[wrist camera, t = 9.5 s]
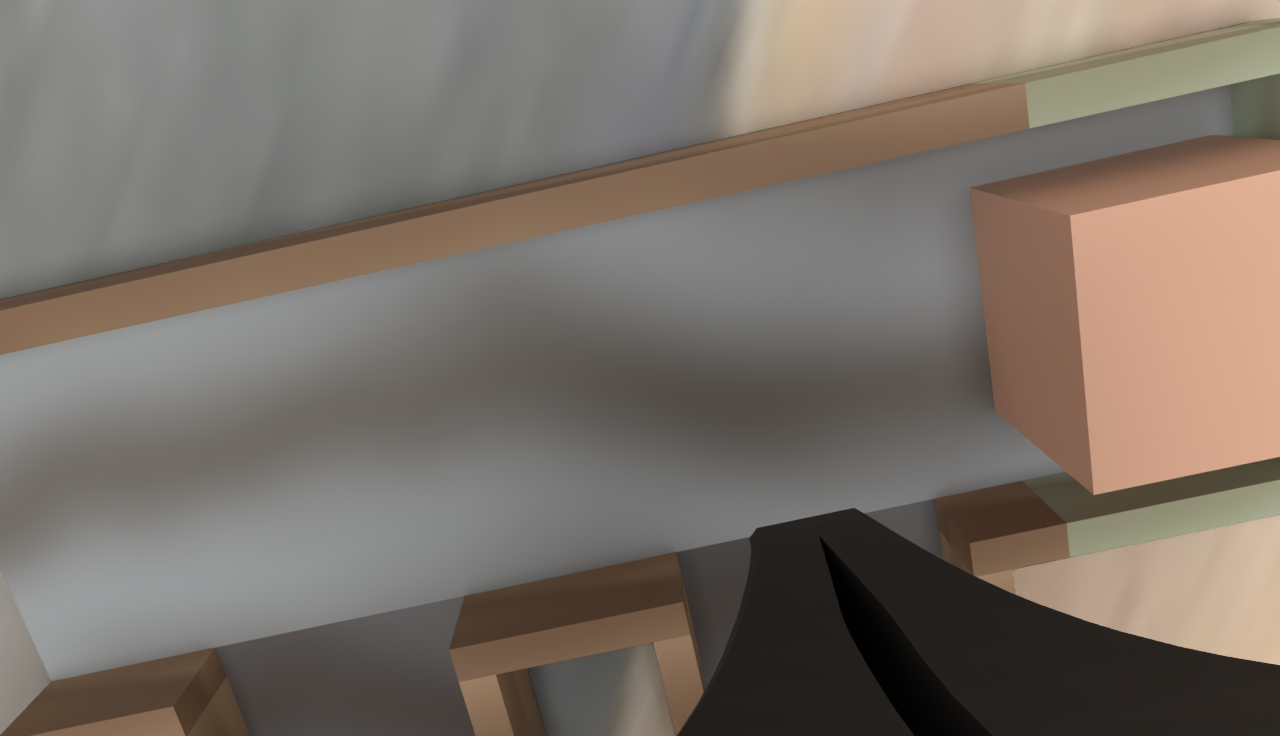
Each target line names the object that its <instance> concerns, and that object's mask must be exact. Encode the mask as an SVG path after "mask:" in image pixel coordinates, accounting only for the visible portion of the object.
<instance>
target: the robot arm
mask: <svg viewBox="0 0 1280 736" xmlns="http://www.w3.org/2000/svg"><path fill="white" fill-rule="evenodd" d="M749 540H750V545H751V559H750V567H749V572H748V578H747V583H746V586H745V590H744V594H743V598H742V602H741V605H740V609H739V612H738V616H737V619H736V621H735V624H734V626H733V629H732V632H731V634H730V637H729V640H728V642H727V645H726V647H725V650H724V653H723V655H722V657H721V659H720V662H719V664H718V666H717V668H716V670H715V672H714V674H713V676H712V678H711V680H710V682H709V684H708V686H707V688H706V689H705V691H704V693H703V695H702V697H701V698H700V700H699V702H698V704H697V705H696V707H695V708H694V710H693V712H692V713H691V715H690V716H689V718H688V719H687V721H686V722H685V724H684V725H683V727H682V728H681V730H680V731H679V733H678V735H677V736H1280V665H1274V664H1268V663H1262V662H1256V661H1250V660H1244V659H1239V658H1233V657H1227V656H1222V655H1217V654H1212V653H1207V652H1202V651H1198V650H1193V649H1188V648H1183V647H1179V646H1175V645H1171V644H1167V643H1163V642H1159V641H1155V640H1151V639H1148V638H1144V637H1140V636H1136V635H1132V634H1128V633H1124V632H1120V631H1117V630H1114V629H1110V628H1107V627H1104V626H1100V625H1097V624H1094V623H1091V622H1087V621H1085V620H1082V619H1079V618H1076V617H1073V616H1071V615H1068V614H1065V613H1062V612H1059V611H1056V610H1054V609H1051V608H1048V607H1045V606H1042V605H1040V604H1037V603H1034V602H1032V601H1030V600H1027V599H1025V598H1022V597H1020V596H1017V595H1015V594H1013V593H1010V592H1008V591H1006V590H1004V589H1002V588H999V587H997V586H995V585H993V584H991V583H989V582H986V581H984V580H982V579H980V578H978V577H976V576H973V575H971V574H970V573H968V572H966V571H964V570H962V569H960V568H958V567H956V566H954V565H952V564H950V563H948V562H946V561H944V560H942V559H941V558H939V557H937V556H935V555H933V554H932V553H930V552H928V551H926V550H924V549H923V548H921V547H919V546H917V545H916V544H914V543H912V542H911V541H909V540H907V539H905V538H904V537H902V536H900V535H899V534H897V533H895V532H894V531H892V530H890V529H889V528H887V527H886V526H884V525H882V524H881V523H879V522H877V521H876V520H874V519H873V518H871V517H869V516H868V515H866V514H864V513H863V512H861V511H859V510H857V509H856V508H851V509H846V510H841V511H836V512H831V513H827V514H822V515H817V516H812V517H807V518H802V519H798V520H793V521H788V522H783V523H778V524H774V525H769V526H764V527H759V528H756V530H755V531H754V532H753V534H752V535H751V536H750V538H749Z"/></svg>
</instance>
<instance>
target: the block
mask: <svg viewBox="0 0 1280 736" xmlns="http://www.w3.org/2000/svg"><path fill="white" fill-rule="evenodd" d="M970 197H971V205H972V214H973V223H974V232H975V240H976V249H977V258H978V267H979V275H980V284H981V293H982V302H983V310H984V319H985V328H986V337H987V345H988V354H989V363H990V372H991V380H992V389H993V398H994V407H995V412H996V413H998V414H999V415H1000V416H1001V417H1002V418H1003V419H1005V420H1006V421H1007V422H1008V423H1009V424H1011V425H1012V426H1013V427H1014V428H1015V429H1016V430H1018V431H1019V432H1020V433H1021V434H1022V435H1024V436H1025V437H1026V438H1027V439H1028V440H1029V441H1031V442H1032V443H1033V444H1034V445H1035V446H1037V447H1038V448H1039V449H1040V450H1041V451H1042V452H1044V453H1045V454H1046V455H1047V456H1048V457H1049V458H1051V459H1052V460H1053V461H1054V462H1055V463H1057V464H1058V465H1059V466H1060V467H1061V468H1062V469H1064V470H1065V471H1066V472H1067V473H1068V474H1070V475H1071V476H1072V477H1073V478H1074V479H1075V480H1077V481H1078V482H1079V483H1080V484H1081V485H1082V486H1084V487H1085V488H1086V489H1087V490H1088V491H1090V492H1091V493H1092V494H1093V495H1097V494H1101V493H1106V492H1111V491H1116V490H1121V489H1126V488H1131V487H1135V486H1140V485H1145V484H1150V483H1155V482H1160V481H1165V480H1169V479H1174V478H1179V477H1184V476H1189V475H1194V474H1198V473H1203V472H1208V471H1213V470H1218V469H1223V468H1228V467H1232V466H1237V465H1242V464H1247V463H1252V462H1257V461H1262V460H1266V459H1271V458H1276V457H1280V140H1274V139H1261V138H1248V137H1235V136H1222V135H1208V136H1203V137H1199V138H1194V139H1189V140H1185V141H1180V142H1176V143H1171V144H1167V145H1162V146H1157V147H1153V148H1148V149H1144V150H1139V151H1135V152H1130V153H1125V154H1121V155H1116V156H1112V157H1107V158H1103V159H1098V160H1093V161H1089V162H1084V163H1080V164H1075V165H1071V166H1066V167H1061V168H1057V169H1052V170H1048V171H1043V172H1039V173H1034V174H1029V175H1025V176H1020V177H1016V178H1011V179H1007V180H1002V181H998V182H993V183H988V184H984V185H979V186H975V187H970Z"/></svg>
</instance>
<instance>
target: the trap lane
mask: <svg viewBox="0 0 1280 736" xmlns="http://www.w3.org/2000/svg"><path fill="white" fill-rule="evenodd" d="M1208 135H1222V136H1235V137H1248V138H1261V139H1274V140H1280V18H1278V19H1268V20H1259V21H1251V22H1247V23H1242V24H1238V25H1233V26H1229V27H1224V28H1220V29H1215V30H1211V31H1206V32H1202V33H1197V34H1193V35H1188V36H1184V37H1179V38H1175V39H1170V40H1166V41H1161V42H1157V43H1152V44H1148V45H1143V46H1139V47H1134V48H1130V49H1125V50H1121V51H1116V52H1112V53H1107V54H1103V55H1098V56H1094V57H1089V58H1085V59H1080V60H1076V61H1071V62H1067V63H1062V64H1058V65H1053V66H1049V67H1044V68H1040V69H1035V70H1031V71H1026V72H1022V73H1017V74H1013V75H1008V76H1004V77H999V78H995V79H990V80H986V81H981V82H977V83H972V84H968V85H963V86H959V87H954V88H950V89H945V90H941V91H936V92H932V93H927V94H923V95H918V96H914V97H909V98H905V99H900V100H896V101H891V102H887V103H882V104H878V105H873V106H869V107H864V108H860V109H855V110H851V111H846V112H842V113H837V114H833V115H828V116H824V117H819V118H815V119H810V120H806V121H801V122H797V123H792V124H788V125H783V126H779V127H774V128H770V129H765V130H761V131H756V132H752V133H747V134H743V135H738V136H734V137H729V138H725V139H720V140H716V141H711V142H707V143H702V144H698V145H693V146H689V147H684V148H680V149H675V150H671V151H666V152H662V153H657V154H653V155H648V156H644V157H639V158H635V159H630V160H626V161H621V162H617V163H612V164H608V165H603V166H599V167H594V168H590V169H585V170H581V171H576V172H572V173H567V174H563V175H558V176H554V177H549V178H545V179H540V180H536V181H531V182H527V183H522V184H518V185H513V186H509V187H504V188H500V189H495V190H491V191H486V192H482V193H477V194H473V195H468V196H464V197H459V198H455V199H450V200H446V201H441V202H437V203H432V204H428V205H423V206H419V207H414V208H410V209H405V210H401V211H396V212H392V213H387V214H383V215H378V216H374V217H369V218H365V219H360V220H356V221H351V222H347V223H342V224H338V225H333V226H329V227H324V228H320V229H315V230H311V231H306V232H302V233H297V234H293V235H288V236H284V237H279V238H275V239H270V240H266V241H261V242H257V243H252V244H248V245H243V246H239V247H234V248H230V249H225V250H221V251H216V252H212V253H207V254H203V255H198V256H194V257H189V258H185V259H180V260H176V261H171V262H167V263H162V264H158V265H153V266H149V267H144V268H140V269H135V270H131V271H126V272H122V273H117V274H113V275H108V276H104V277H99V278H95V279H90V280H86V281H81V282H77V283H72V284H68V285H63V286H59V287H54V288H50V289H45V290H41V291H36V292H32V293H27V294H23V295H18V296H14V297H9V298H5V299H0V570H1V572H2V574H3V576H4V578H5V581H6V583H7V585H8V587H9V589H10V591H11V594H12V596H13V598H14V600H15V602H16V605H17V607H18V609H19V611H20V613H21V616H22V618H23V620H24V622H25V624H26V626H27V629H28V631H29V633H30V635H31V637H32V640H33V642H34V644H35V646H36V648H37V650H38V653H39V655H40V657H41V659H42V661H43V664H44V666H45V668H46V670H47V672H48V674H49V677H50V679H51V682H50V684H49V685H48V686H47V687H46V688H45V689H44V690H43V691H42V692H41V693H40V694H39V695H38V696H37V697H36V698H35V699H34V700H33V701H32V702H31V704H30V705H29V706H28V707H27V708H26V709H25V710H24V711H23V712H22V713H21V714H20V715H19V716H18V717H17V718H16V719H15V720H14V721H13V722H12V724H11V725H10V726H9V727H8V728H7V729H6V730H5V731H4V732H3V733H2V734H1V735H0V736H546V733H545V729H544V726H543V723H542V719H541V716H540V712H539V709H538V705H537V702H536V698H535V695H534V691H533V688H532V684H531V681H530V677H529V674H528V671H527V668H531V667H536V666H541V665H546V664H551V663H556V662H561V661H565V660H570V659H575V658H580V657H585V656H590V655H595V654H600V653H605V652H610V651H615V650H620V649H624V648H629V647H634V646H639V645H644V644H649V643H653V644H654V648H655V652H656V656H657V660H658V665H659V669H660V673H661V677H662V681H663V685H664V689H665V694H666V698H667V702H668V706H669V710H670V714H671V718H672V722H673V727H674V731H675V735H676V736H677V735H678V733H679V731H680V730H681V728H682V727H683V725H684V724H685V722H686V721H687V719H688V718H689V716H690V715H691V713H692V712H693V710H694V708H695V707H696V705H697V704H698V702H699V700H700V698H701V697H702V695H703V693H704V691H705V689H706V688H707V686H708V684H709V682H710V680H711V678H712V676H713V674H714V672H715V670H716V668H717V666H718V664H719V662H720V659H721V657H722V655H723V653H724V650H725V647H726V645H727V642H728V640H729V637H730V634H731V632H732V629H733V626H734V624H735V621H736V619H737V616H738V612H739V609H740V605H741V602H742V598H743V594H744V590H745V586H746V583H747V578H748V572H749V567H750V559H751V545H750V540H749V538H750V536H751V535H752V534H753V532H754V531H755V530H756V528H759V527H764V526H769V525H774V524H778V523H783V522H788V521H793V520H798V519H802V518H807V517H812V516H817V515H822V514H827V513H831V512H836V511H841V510H846V509H851V508H856V509H857V510H859V511H861V512H863V513H864V514H866V515H868V516H869V517H871V518H873V519H874V520H876V521H877V522H879V523H881V524H882V525H884V526H886V527H887V528H889V529H890V530H892V531H894V532H895V533H897V534H899V535H900V536H902V537H904V538H905V539H907V540H909V541H911V542H912V543H914V544H916V545H917V546H919V547H921V548H923V549H924V550H926V551H928V552H930V553H932V554H933V555H935V556H937V557H939V558H941V559H942V560H944V561H946V562H948V563H950V564H952V565H954V566H956V567H958V568H960V569H962V570H964V571H966V572H968V573H970V574H971V575H973V576H976V577H978V578H980V579H982V580H984V581H986V582H989V583H991V584H993V585H995V586H997V587H999V588H1002V589H1004V590H1006V591H1008V592H1010V593H1013V594H1015V589H1014V580H1013V571H1012V570H1013V569H1017V568H1022V567H1027V566H1032V565H1037V564H1042V563H1047V562H1052V561H1057V560H1062V559H1067V558H1072V557H1076V556H1081V555H1086V554H1091V553H1096V552H1101V551H1106V550H1111V549H1116V548H1121V547H1126V546H1130V545H1135V544H1140V543H1145V542H1150V541H1155V540H1160V539H1165V538H1170V537H1175V536H1180V535H1185V534H1189V533H1194V532H1199V531H1204V530H1209V529H1214V528H1219V527H1224V526H1229V525H1234V524H1239V523H1243V522H1248V521H1253V520H1258V519H1263V518H1268V517H1273V516H1278V515H1280V457H1276V458H1271V459H1266V460H1262V461H1257V462H1252V463H1247V464H1242V465H1237V466H1232V467H1228V468H1223V469H1218V470H1213V471H1208V472H1203V473H1198V474H1194V475H1189V476H1184V477H1179V478H1174V479H1169V480H1165V481H1160V482H1155V483H1150V484H1145V485H1140V486H1135V487H1131V488H1126V489H1121V490H1116V491H1111V492H1106V493H1101V494H1097V495H1093V494H1092V493H1091V492H1090V491H1088V490H1087V489H1086V488H1085V487H1084V486H1082V485H1081V484H1080V483H1079V482H1078V481H1077V480H1075V479H1074V478H1073V477H1072V476H1071V475H1070V474H1068V473H1067V472H1066V471H1065V470H1064V469H1062V468H1061V467H1060V466H1059V465H1058V464H1057V463H1055V462H1054V461H1053V460H1052V459H1051V458H1049V457H1048V456H1047V455H1046V454H1045V453H1044V452H1042V451H1041V450H1040V449H1039V448H1038V447H1037V446H1035V445H1034V444H1033V443H1032V442H1031V441H1029V440H1028V439H1027V438H1026V437H1025V436H1024V435H1022V434H1021V433H1020V432H1019V431H1018V430H1016V429H1015V428H1014V427H1013V426H1012V425H1011V424H1009V423H1008V422H1007V421H1006V420H1005V419H1003V418H1002V417H1001V416H1000V415H999V414H998V413H996V412H995V407H994V398H993V389H992V380H991V372H990V363H989V354H988V345H987V337H986V328H985V319H984V310H983V302H982V293H981V284H980V275H979V267H978V258H977V249H976V240H975V232H974V223H973V214H972V205H971V197H970V187H975V186H979V185H984V184H988V183H993V182H998V181H1002V180H1007V179H1011V178H1016V177H1020V176H1025V175H1029V174H1034V173H1039V172H1043V171H1048V170H1052V169H1057V168H1061V167H1066V166H1071V165H1075V164H1080V163H1084V162H1089V161H1093V160H1098V159H1103V158H1107V157H1112V156H1116V155H1121V154H1125V153H1130V152H1135V151H1139V150H1144V149H1148V148H1153V147H1157V146H1162V145H1167V144H1171V143H1176V142H1180V141H1185V140H1189V139H1194V138H1199V137H1203V136H1208Z"/></svg>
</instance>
